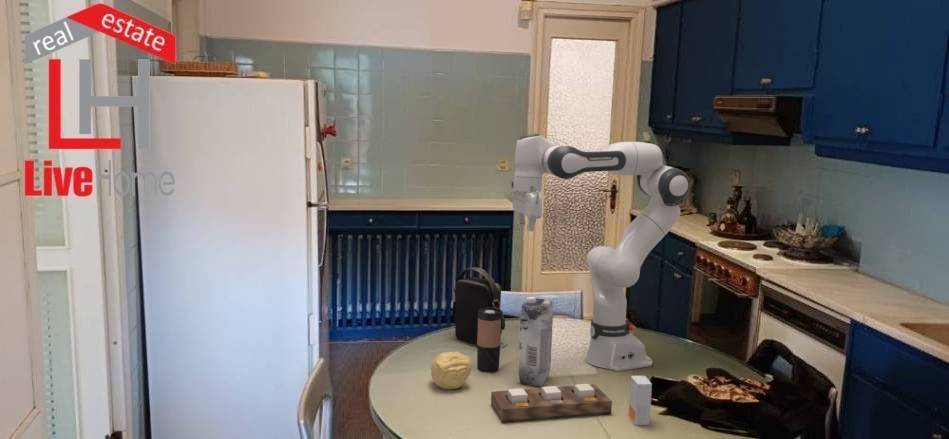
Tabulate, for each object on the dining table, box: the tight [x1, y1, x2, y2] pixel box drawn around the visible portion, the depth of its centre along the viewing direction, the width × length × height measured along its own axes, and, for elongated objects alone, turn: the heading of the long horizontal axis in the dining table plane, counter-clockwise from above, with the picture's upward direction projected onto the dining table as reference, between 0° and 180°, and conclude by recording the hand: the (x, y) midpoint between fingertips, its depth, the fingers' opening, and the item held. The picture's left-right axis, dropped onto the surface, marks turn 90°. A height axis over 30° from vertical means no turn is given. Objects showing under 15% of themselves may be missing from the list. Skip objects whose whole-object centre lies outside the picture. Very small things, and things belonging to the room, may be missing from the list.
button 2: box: [573, 383, 594, 399], centre depth 196 cm, size 4×4×3 cm
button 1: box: [507, 387, 528, 404], centre depth 192 cm, size 4×4×3 cm
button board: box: [490, 383, 613, 424], centre depth 194 cm, size 32×12×4 cm, turn 103°
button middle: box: [540, 385, 561, 401], centre depth 194 cm, size 4×4×3 cm
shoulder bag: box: [444, 266, 507, 349], centre depth 248 cm, size 23×9×28 cm, turn 51°
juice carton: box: [518, 296, 554, 388], centre depth 213 cm, size 9×10×27 cm
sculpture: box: [430, 350, 472, 390], centre depth 209 cm, size 12×12×11 cm
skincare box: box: [628, 375, 653, 426], centre depth 188 cm, size 6×4×12 cm
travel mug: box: [476, 307, 502, 374], centre depth 222 cm, size 8×8×20 cm
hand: (526, 228), depth 218 cm, fingers open, 8 cm apart
